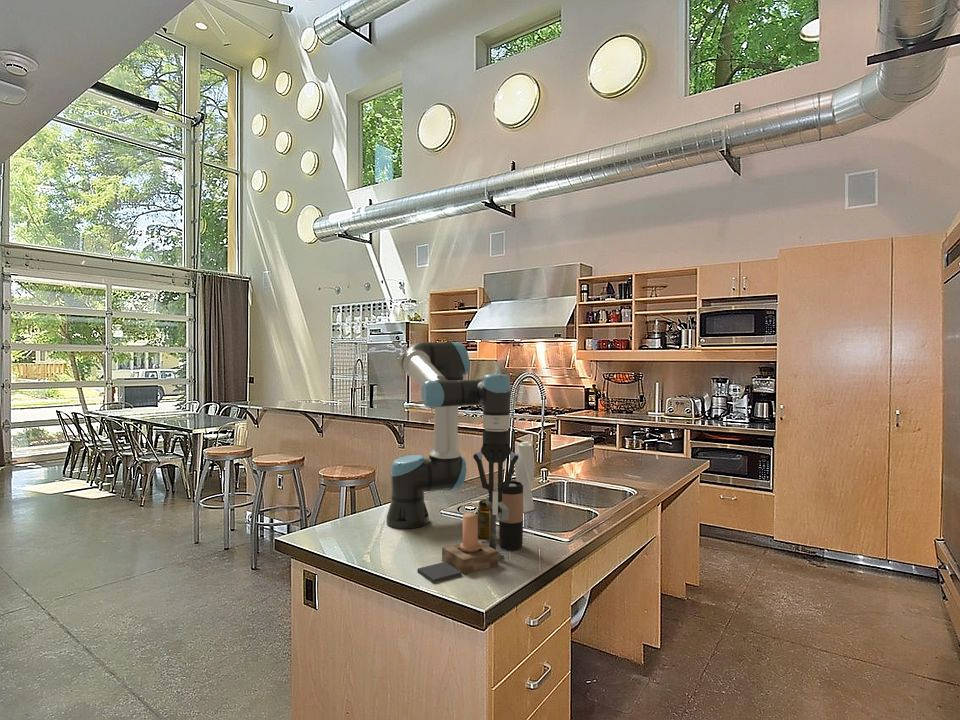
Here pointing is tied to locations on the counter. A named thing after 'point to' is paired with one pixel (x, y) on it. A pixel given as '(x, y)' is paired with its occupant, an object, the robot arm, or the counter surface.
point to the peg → (470, 534)
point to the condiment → (483, 521)
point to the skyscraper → (525, 473)
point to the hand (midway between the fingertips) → (495, 513)
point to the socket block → (477, 559)
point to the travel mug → (512, 518)
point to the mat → (439, 572)
